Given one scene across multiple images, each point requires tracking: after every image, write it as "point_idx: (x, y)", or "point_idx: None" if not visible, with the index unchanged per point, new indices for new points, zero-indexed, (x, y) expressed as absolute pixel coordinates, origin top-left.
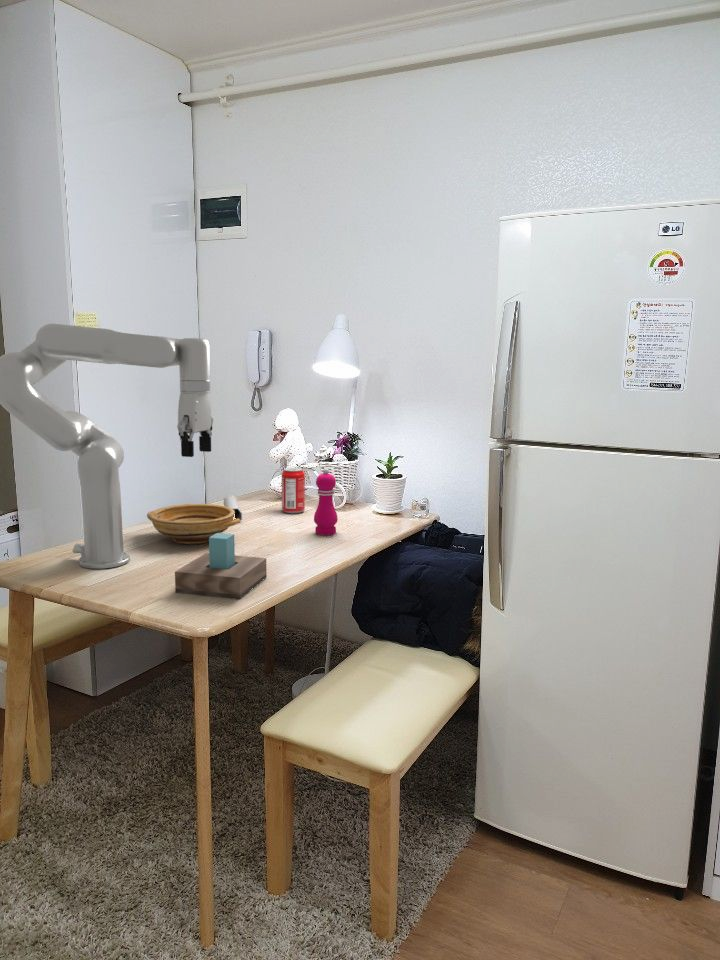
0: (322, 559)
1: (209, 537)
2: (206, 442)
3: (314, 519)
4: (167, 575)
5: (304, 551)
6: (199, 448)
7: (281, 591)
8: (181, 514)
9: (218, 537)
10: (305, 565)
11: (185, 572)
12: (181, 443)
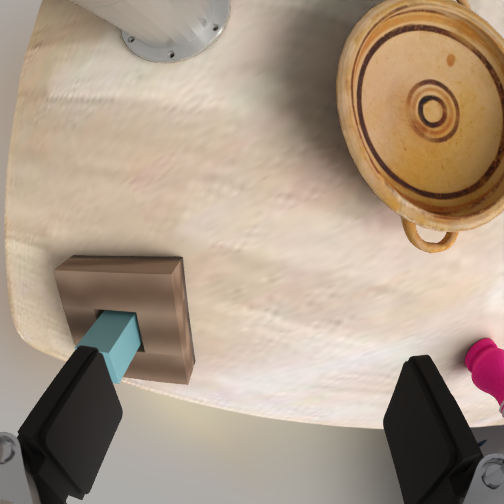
0: (322, 402)
1: (75, 348)
2: (408, 461)
3: (488, 356)
4: (136, 191)
5: (367, 368)
6: (419, 367)
7: (150, 388)
8: (492, 58)
9: None
10: (282, 392)
11: (59, 289)
12: (31, 416)
